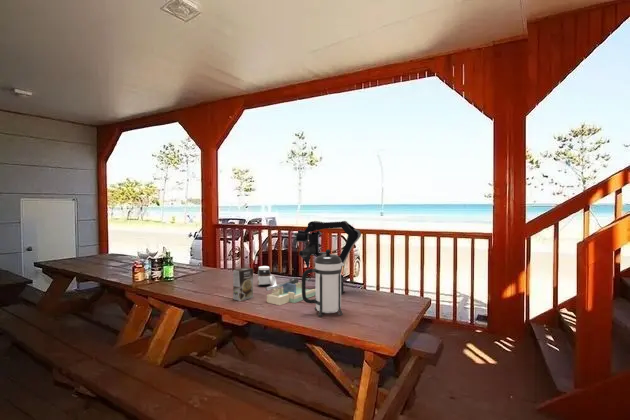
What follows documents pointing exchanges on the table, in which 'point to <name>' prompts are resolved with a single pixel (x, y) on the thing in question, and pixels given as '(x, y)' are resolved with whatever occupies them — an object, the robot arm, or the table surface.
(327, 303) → the coffee press
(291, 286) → the rod
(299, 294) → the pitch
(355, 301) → the table surface
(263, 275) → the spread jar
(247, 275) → the coffee box
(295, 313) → the table surface
